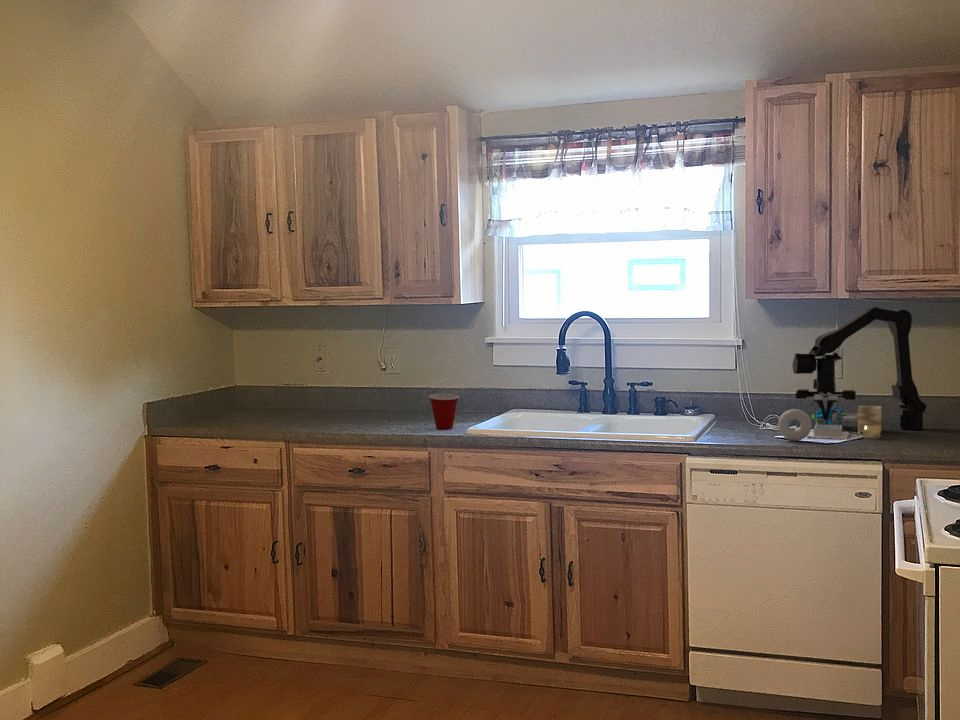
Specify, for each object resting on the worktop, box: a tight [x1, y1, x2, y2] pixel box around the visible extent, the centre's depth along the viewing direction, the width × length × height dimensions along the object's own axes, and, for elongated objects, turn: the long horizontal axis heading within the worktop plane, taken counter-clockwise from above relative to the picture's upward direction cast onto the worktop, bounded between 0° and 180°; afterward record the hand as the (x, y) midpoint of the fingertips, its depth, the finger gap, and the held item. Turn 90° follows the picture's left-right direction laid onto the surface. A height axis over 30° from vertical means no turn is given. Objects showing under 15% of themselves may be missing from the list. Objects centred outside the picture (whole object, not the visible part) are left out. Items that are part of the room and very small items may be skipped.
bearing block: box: [857, 405, 882, 434], centre depth 326 cm, size 7×8×8 cm
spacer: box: [862, 424, 881, 439], centre depth 313 cm, size 5×5×4 cm
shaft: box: [832, 408, 858, 425], centre depth 328 cm, size 12×5×5 cm, turn 67°
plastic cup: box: [428, 393, 460, 431], centre depth 352 cm, size 11×11×12 cm
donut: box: [777, 408, 813, 442], centre depth 310 cm, size 10×4×10 cm, turn 77°
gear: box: [811, 406, 847, 425], centre depth 339 cm, size 11×6×10 cm
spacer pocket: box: [806, 424, 850, 440], centre depth 318 cm, size 12×12×3 cm
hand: (825, 420), depth 332 cm, fingers closed
